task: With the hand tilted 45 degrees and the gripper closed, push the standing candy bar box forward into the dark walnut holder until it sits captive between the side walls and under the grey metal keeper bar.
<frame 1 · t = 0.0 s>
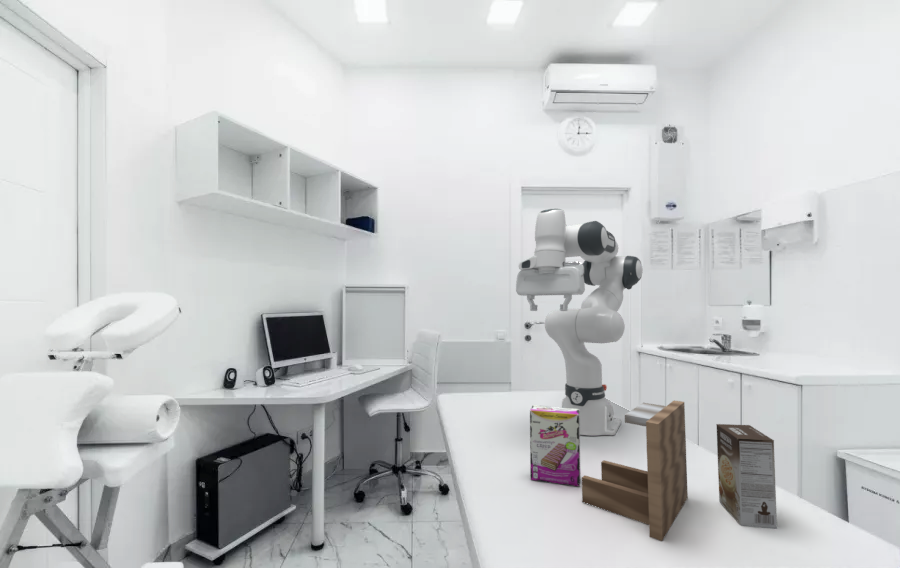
hand: (548, 311, 114), 39 cm above the table, tool pointing down, fingers open, 8 cm apart
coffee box: (746, 515, 77), on the table
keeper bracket: (627, 502, 83), on the table
candy bar box: (555, 480, 93), on the table
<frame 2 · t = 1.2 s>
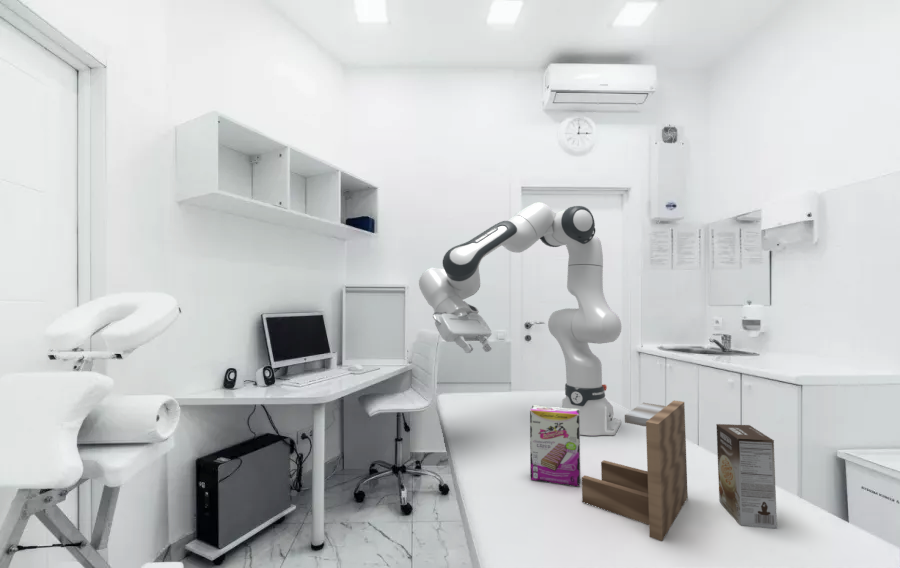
hand: (479, 351, 109), 28 cm above the table, tool tilted 45°, fingers open, 8 cm apart
nothing on the table moved.
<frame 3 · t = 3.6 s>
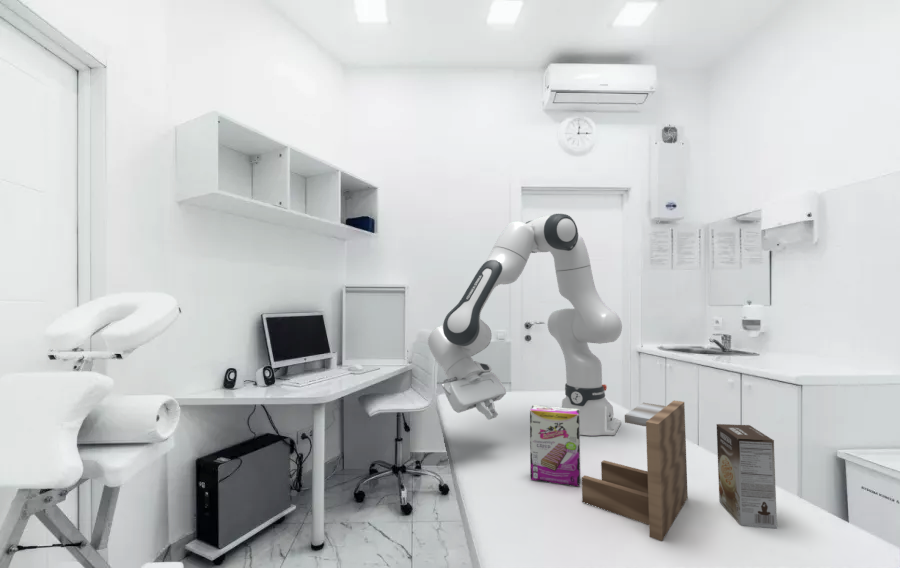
hand: (493, 417, 105), 11 cm above the table, tool tilted 45°, fingers closed
nothing on the table moved.
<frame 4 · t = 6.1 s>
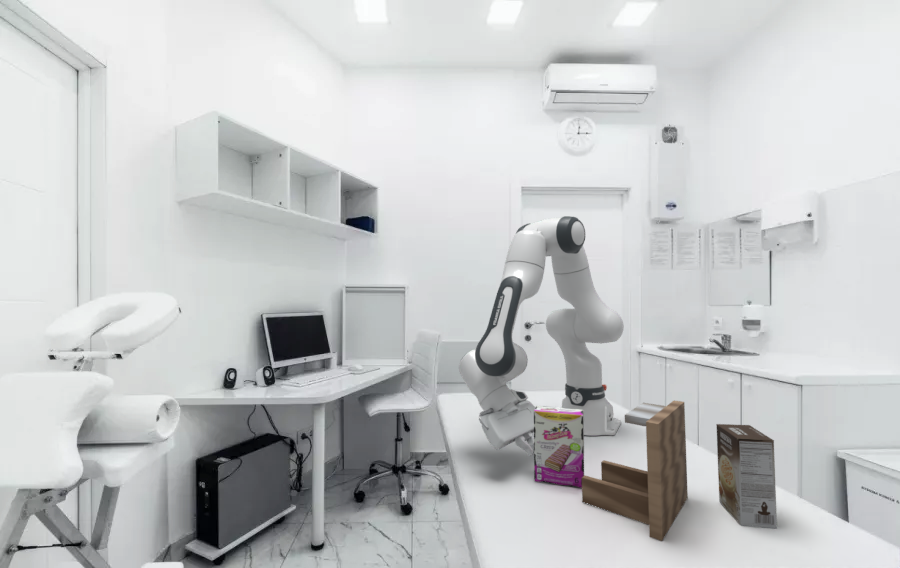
hand: (534, 453, 97), 5 cm above the table, tool tilted 45°, fingers closed
candy bar box: (559, 482, 92), on the table, touching gripper
everything else where it was.
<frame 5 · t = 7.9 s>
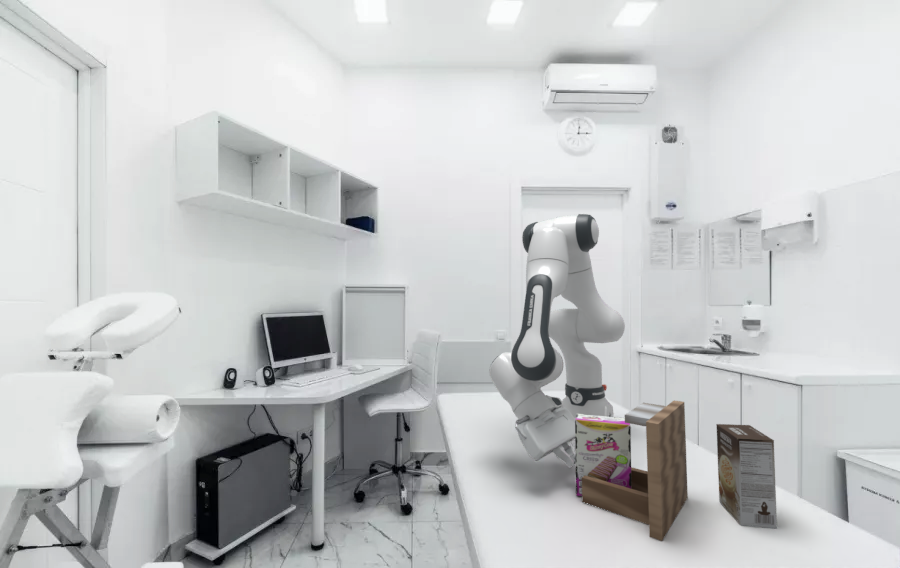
hand: (574, 464, 90), 5 cm above the table, tool tilted 45°, fingers closed
candy bar box: (603, 497, 85), on the table, touching gripper
everything else where it was.
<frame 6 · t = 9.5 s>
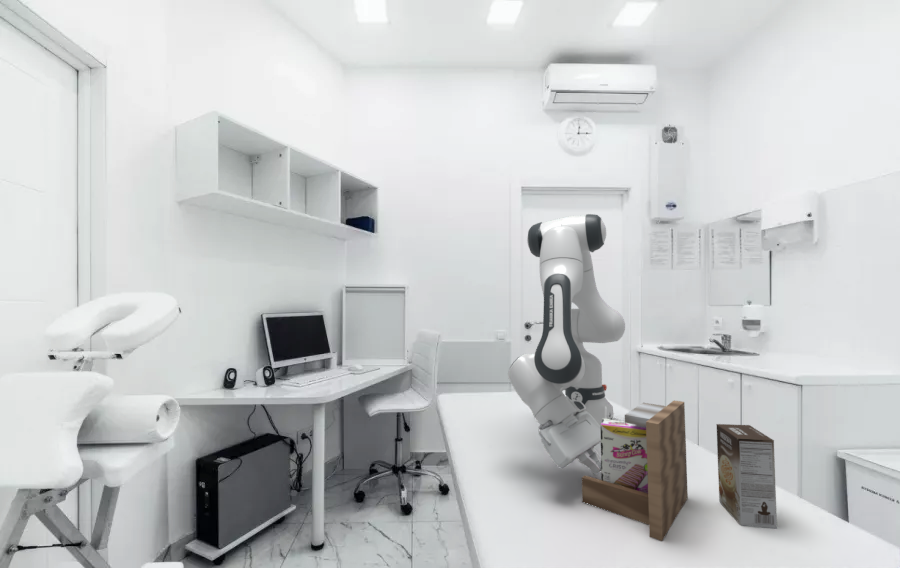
hand: (600, 471, 86), 5 cm above the table, tool tilted 45°, fingers closed, pressing on candy bar box
candy bar box: (631, 506, 81), on the table, touching gripper, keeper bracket
everything else where it was.
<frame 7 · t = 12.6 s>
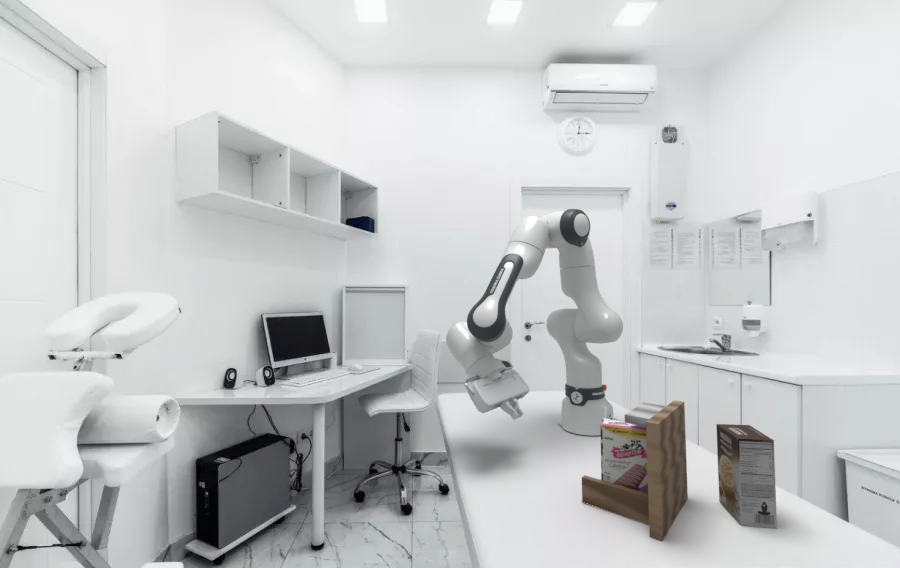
hand: (519, 417, 101), 13 cm above the table, tool tilted 45°, fingers closed
candy bar box: (631, 506, 81), on the table, touching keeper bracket
everything else where it was.
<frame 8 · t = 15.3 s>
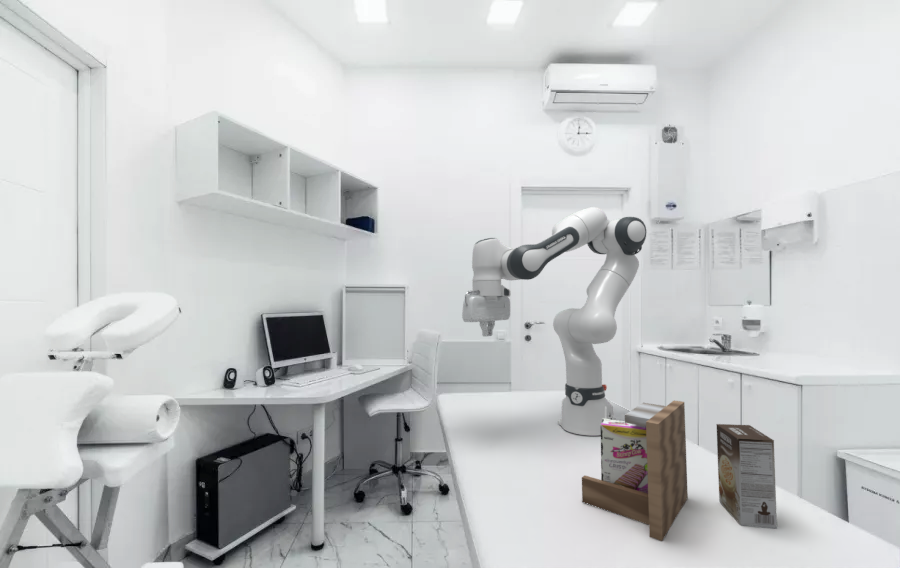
hand: (487, 336, 122), 31 cm above the table, tool pointing down, fingers closed
nothing on the table moved.
at the end: candy bar box inside the target area on the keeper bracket (1.2 cm from its centre), point 0.0 cm above the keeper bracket's base; candy bar box tilted 0° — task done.
